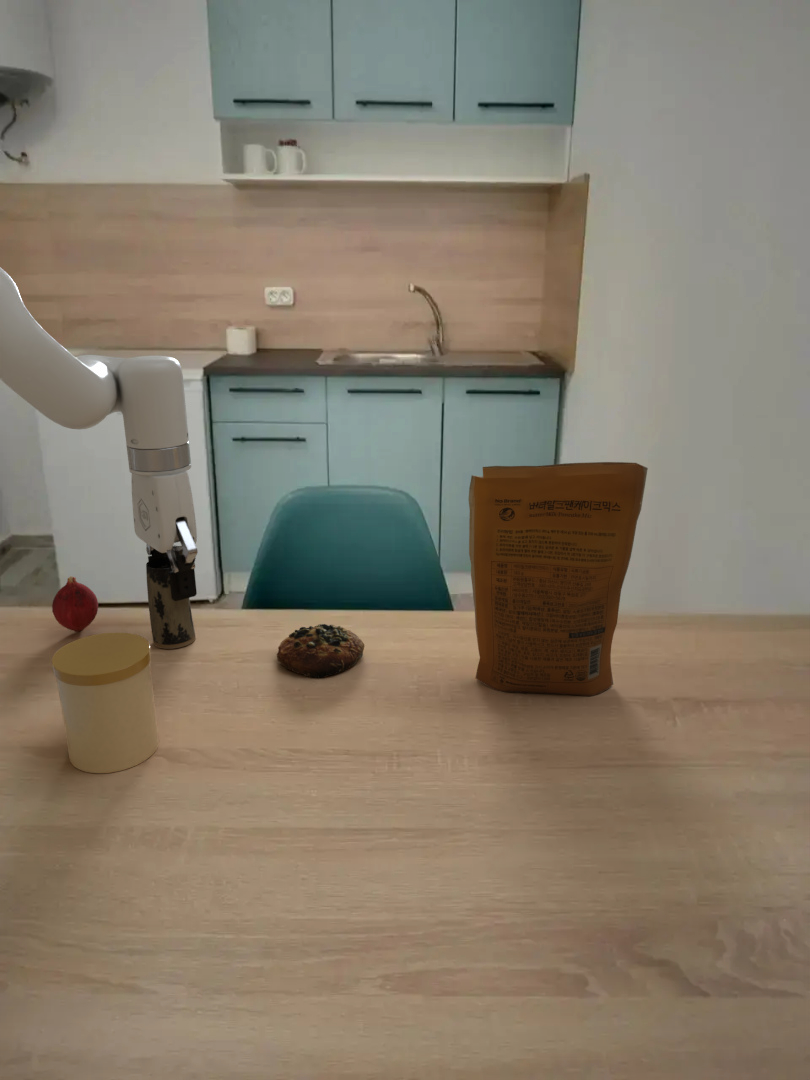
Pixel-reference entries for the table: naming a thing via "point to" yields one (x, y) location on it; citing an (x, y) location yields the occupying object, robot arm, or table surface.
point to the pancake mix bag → (551, 571)
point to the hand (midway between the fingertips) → (173, 588)
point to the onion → (75, 605)
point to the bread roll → (320, 650)
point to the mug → (167, 607)
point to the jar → (107, 701)
